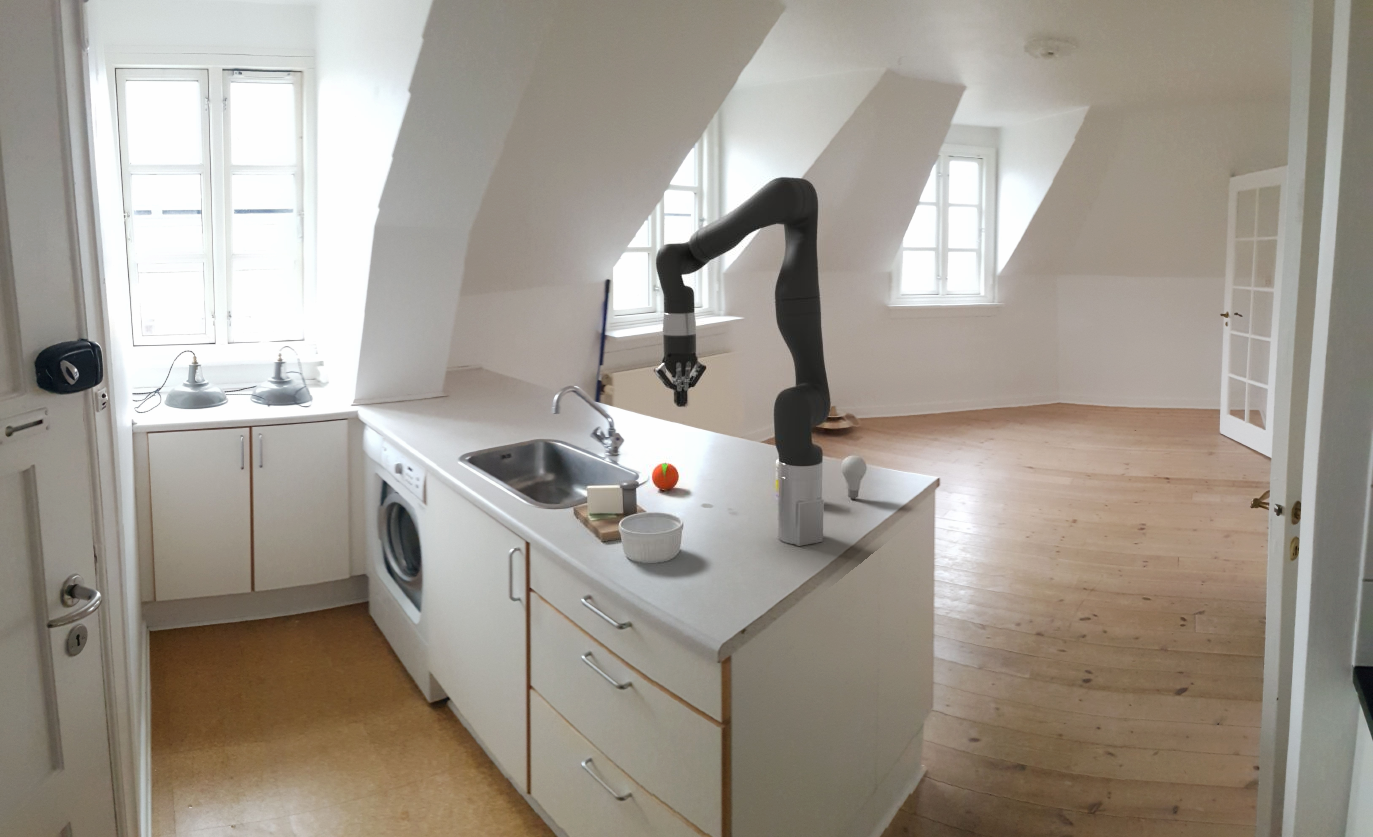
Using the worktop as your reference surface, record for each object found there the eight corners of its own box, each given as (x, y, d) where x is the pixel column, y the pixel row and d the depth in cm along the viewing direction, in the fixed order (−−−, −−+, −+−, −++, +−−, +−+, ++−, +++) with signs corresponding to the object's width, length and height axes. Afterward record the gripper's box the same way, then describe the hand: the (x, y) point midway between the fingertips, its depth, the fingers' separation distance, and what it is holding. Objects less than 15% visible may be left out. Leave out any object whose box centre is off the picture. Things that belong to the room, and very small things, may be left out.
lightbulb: (855, 504, 208) (856, 460, 205) (835, 498, 212) (836, 455, 210) (870, 499, 212) (872, 455, 209) (850, 493, 216) (851, 451, 214)
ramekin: (632, 570, 170) (631, 537, 169) (610, 548, 182) (609, 517, 180) (693, 559, 175) (693, 527, 174) (669, 538, 187) (668, 508, 186)
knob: (640, 509, 199) (639, 480, 198) (639, 515, 195) (638, 485, 193) (589, 510, 199) (588, 480, 198) (587, 516, 195) (586, 486, 193)
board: (661, 531, 191) (661, 522, 191) (601, 542, 186) (601, 532, 185) (629, 506, 209) (629, 497, 208) (573, 514, 203) (573, 506, 203)
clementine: (678, 494, 217) (678, 467, 216) (651, 495, 218) (650, 467, 216) (679, 485, 225) (679, 459, 224) (652, 485, 225) (652, 459, 224)
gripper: (659, 335, 192) (661, 412, 196) (712, 331, 197) (713, 406, 201) (646, 332, 199) (648, 406, 202) (698, 328, 204) (699, 400, 208)
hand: (680, 406), depth 202 cm, fingers closed
